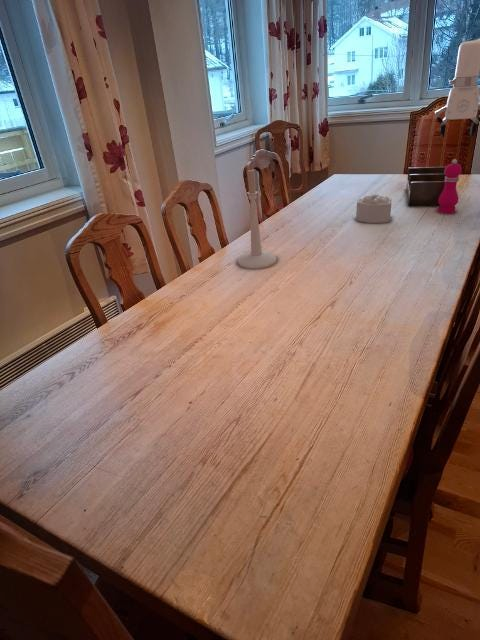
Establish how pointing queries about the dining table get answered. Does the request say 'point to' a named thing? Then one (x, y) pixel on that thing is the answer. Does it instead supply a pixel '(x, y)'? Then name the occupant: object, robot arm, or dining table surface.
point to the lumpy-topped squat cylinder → (374, 209)
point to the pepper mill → (450, 188)
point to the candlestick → (255, 235)
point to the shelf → (425, 185)
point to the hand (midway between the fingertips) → (456, 135)
